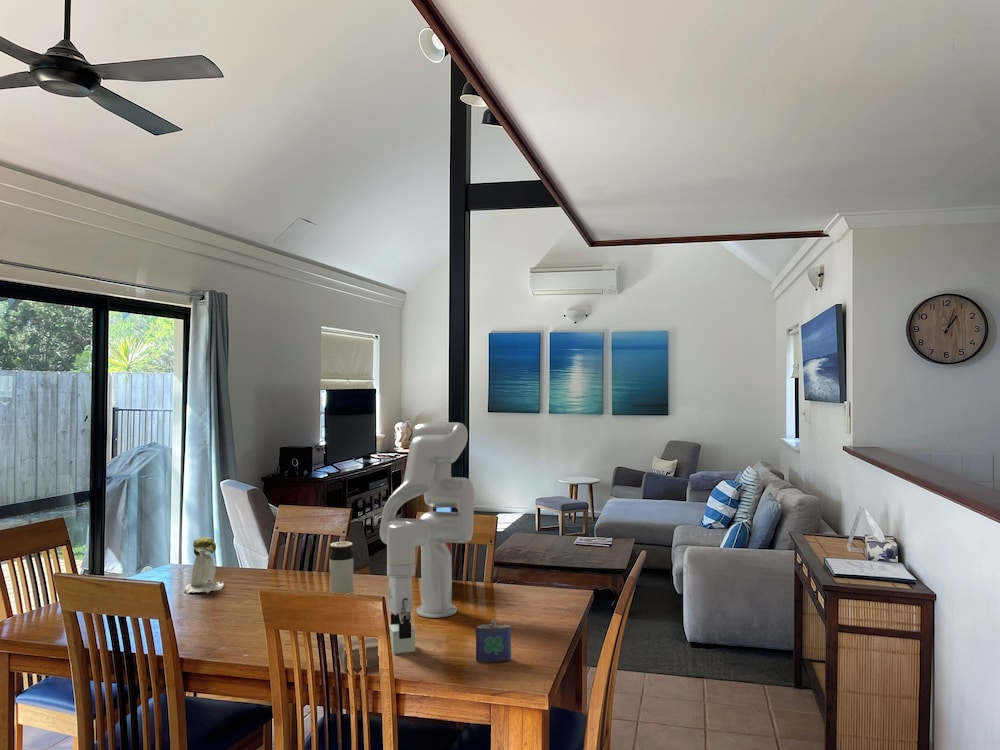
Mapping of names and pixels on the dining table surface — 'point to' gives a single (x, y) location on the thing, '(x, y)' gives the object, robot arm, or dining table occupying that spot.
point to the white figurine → (203, 567)
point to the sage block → (401, 640)
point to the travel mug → (341, 567)
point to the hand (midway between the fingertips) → (400, 633)
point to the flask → (493, 643)
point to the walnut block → (370, 652)
